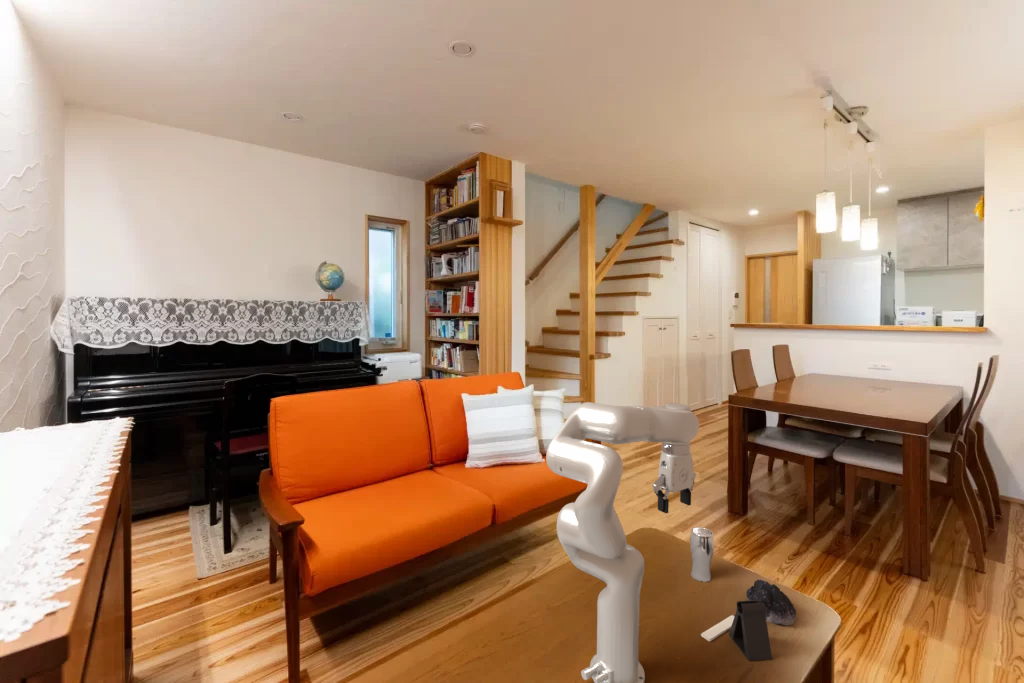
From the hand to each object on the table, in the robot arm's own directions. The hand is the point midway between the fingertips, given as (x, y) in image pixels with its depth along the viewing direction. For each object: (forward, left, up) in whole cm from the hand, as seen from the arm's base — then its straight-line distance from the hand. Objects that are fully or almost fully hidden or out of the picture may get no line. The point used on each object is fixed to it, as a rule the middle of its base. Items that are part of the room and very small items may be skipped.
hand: (674, 507), depth 126 cm
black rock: (+24, -15, -31) cm, 42 cm away
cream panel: (+5, -12, -30) cm, 33 cm away
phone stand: (+5, -20, -31) cm, 37 cm away
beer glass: (+22, +6, -31) cm, 38 cm away
